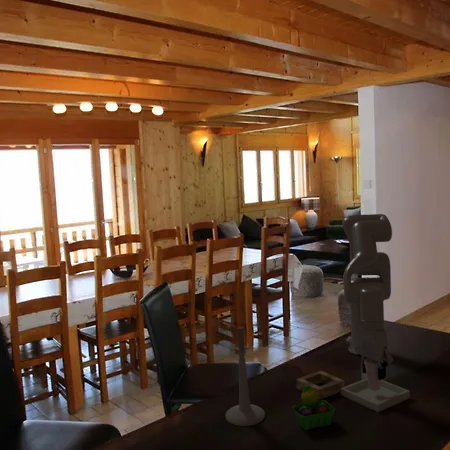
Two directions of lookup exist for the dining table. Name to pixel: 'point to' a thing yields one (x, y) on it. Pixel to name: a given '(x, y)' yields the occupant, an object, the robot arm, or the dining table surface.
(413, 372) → the dining table surface
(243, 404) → the candlestick
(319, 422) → the fruit basket
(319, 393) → the holder
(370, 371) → the smoothie
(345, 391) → the tray
